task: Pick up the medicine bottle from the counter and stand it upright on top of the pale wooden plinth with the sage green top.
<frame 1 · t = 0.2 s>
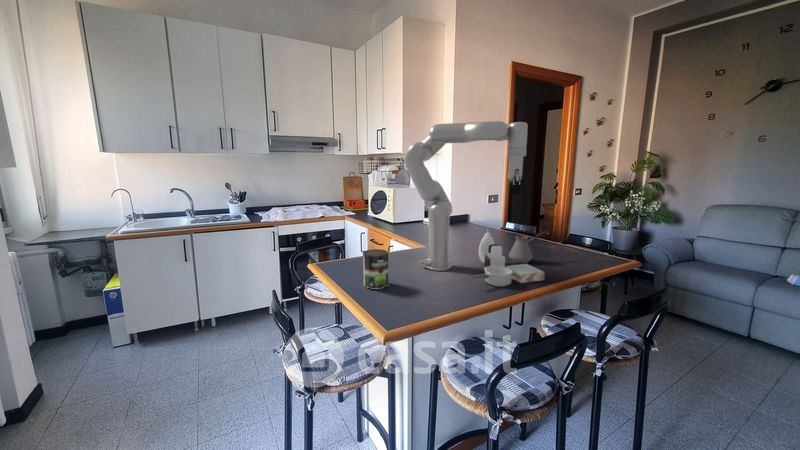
hand: (514, 193, 144), 36 cm above the table, tool pointing down, fingers open, 9 cm apart
coffee can: (376, 285, 137), on the table
medicine bottle: (494, 270, 155), on the table
plinth: (523, 276, 146), on the table
coffee pot: (528, 260, 170), on the table
saucepan: (490, 285, 137), on the table
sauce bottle: (486, 263, 165), on the table
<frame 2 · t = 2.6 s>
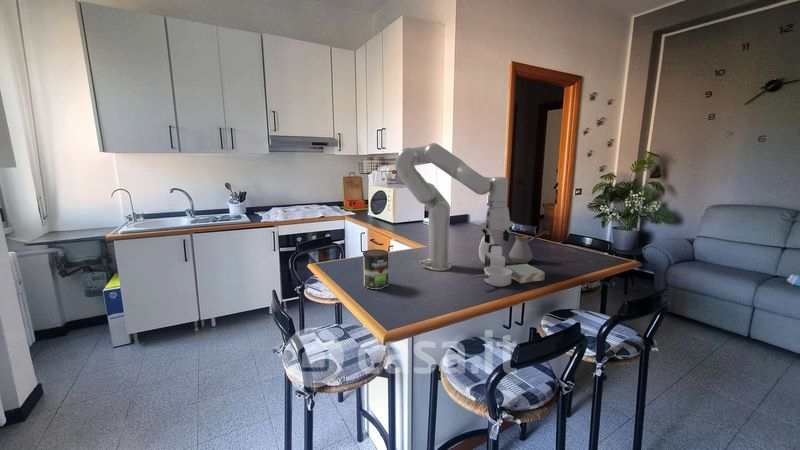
hand: (496, 241, 153), 14 cm above the table, tool pointing down, fingers open, 9 cm apart
nothing on the table moved.
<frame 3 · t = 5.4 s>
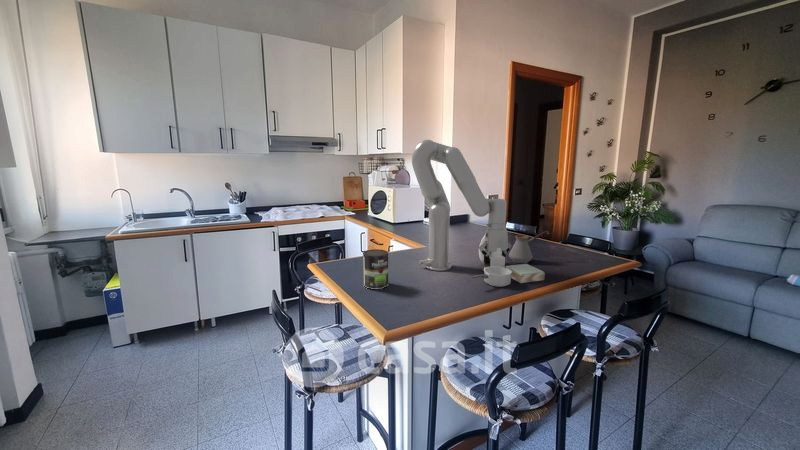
hand: (494, 262, 155), 4 cm above the table, tool pointing down, fingers closed on medicine bottle, 8 cm apart
medicine bottle: (494, 270, 155), on the table, touching gripper
everything else where it was.
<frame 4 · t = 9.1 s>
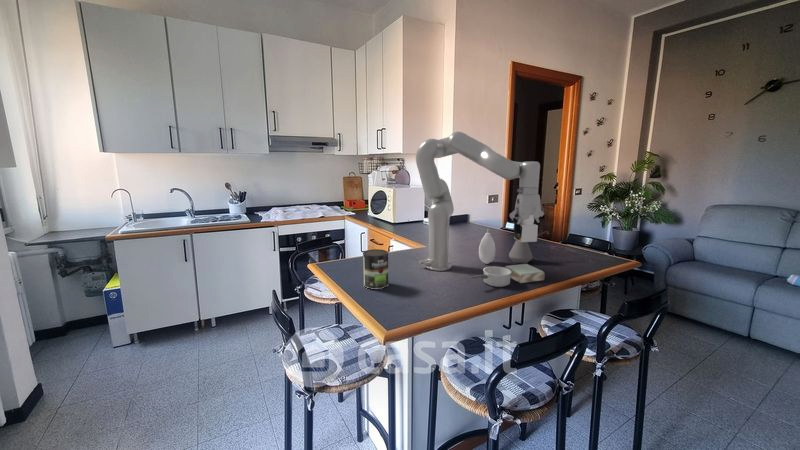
hand: (525, 232, 143), 20 cm above the table, tool pointing down, fingers closed on medicine bottle, 8 cm apart
medicine bottle: (525, 240, 143), point 16 cm above the table, touching gripper
everything else where it was.
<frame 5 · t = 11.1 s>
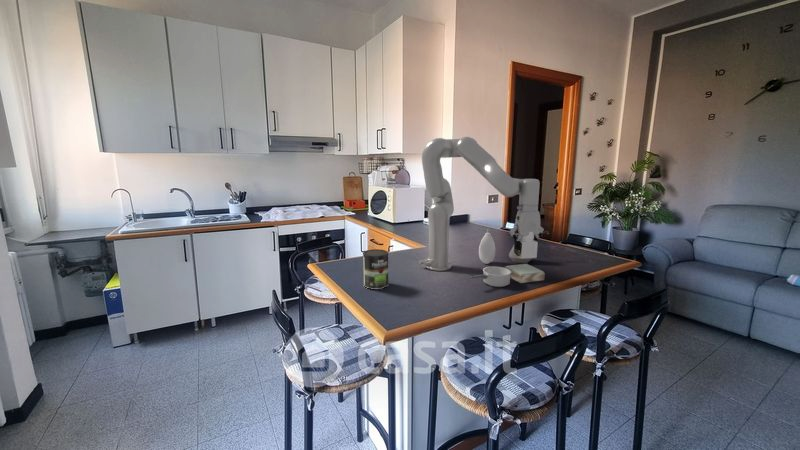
hand: (525, 248, 144), 13 cm above the table, tool pointing down, fingers closed on medicine bottle, 8 cm apart
medicine bottle: (524, 256, 144), point 9 cm above the table, touching gripper
everything else where it was.
when the fingers open (9 cm above the table, at t = 12.8 s): medicine bottle drops 1 cm, resting on plinth.
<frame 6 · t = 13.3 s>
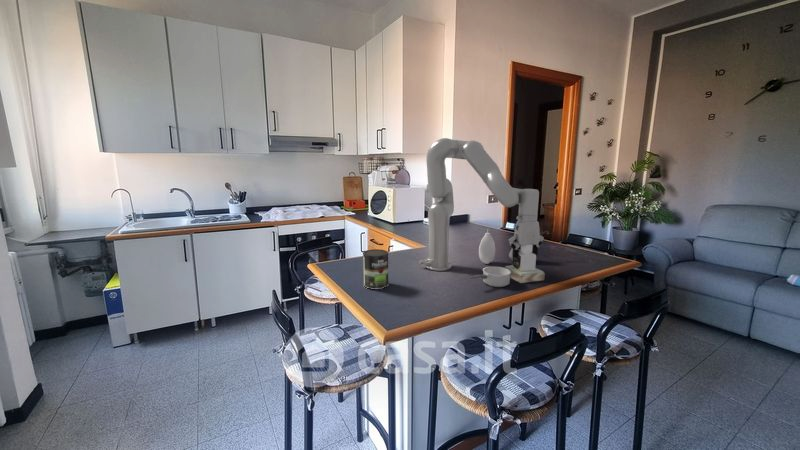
hand: (524, 256, 144), 9 cm above the table, tool pointing down, fingers open, 9 cm apart
medicine bottle: (523, 268, 146), point 4 cm above the table, touching plinth
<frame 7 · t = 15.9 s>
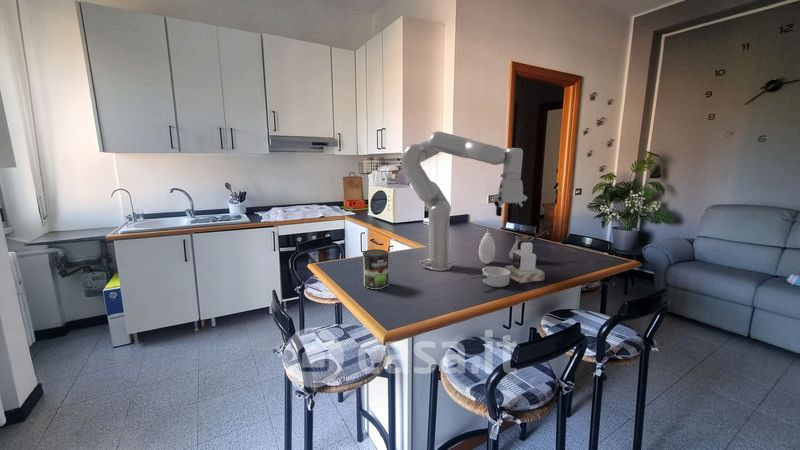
hand: (508, 215, 149), 26 cm above the table, tool pointing down, fingers open, 9 cm apart
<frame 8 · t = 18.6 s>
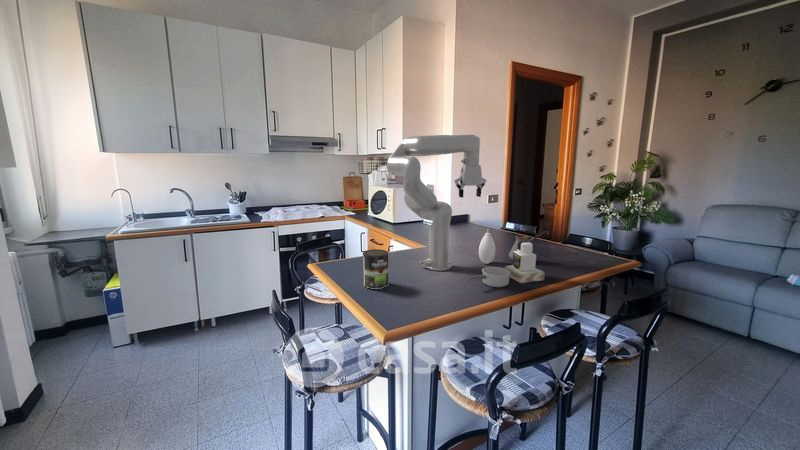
hand: (469, 196, 167), 32 cm above the table, tool pointing down, fingers open, 9 cm apart
at the end: medicine bottle inside the target area on the plinth (0.2 cm from its centre), point 3.6 cm above the plinth's base; medicine bottle tilted 0°; medicine bottle touching plinth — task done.
